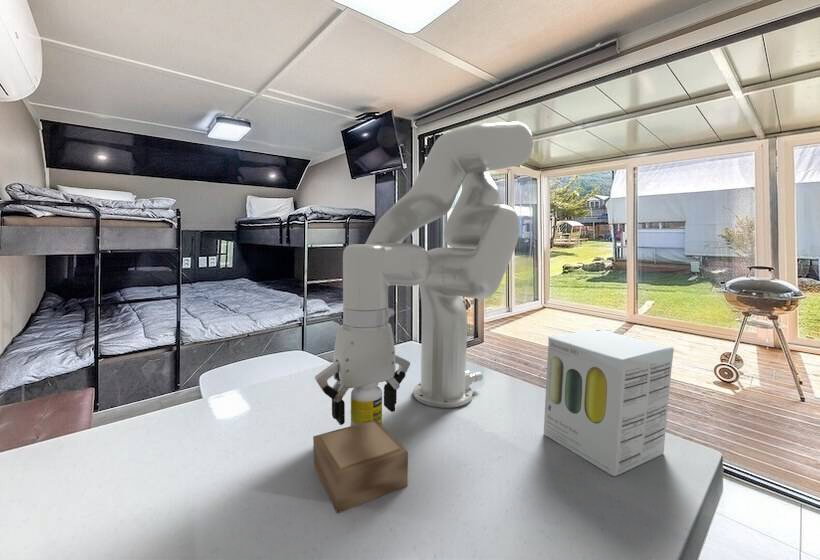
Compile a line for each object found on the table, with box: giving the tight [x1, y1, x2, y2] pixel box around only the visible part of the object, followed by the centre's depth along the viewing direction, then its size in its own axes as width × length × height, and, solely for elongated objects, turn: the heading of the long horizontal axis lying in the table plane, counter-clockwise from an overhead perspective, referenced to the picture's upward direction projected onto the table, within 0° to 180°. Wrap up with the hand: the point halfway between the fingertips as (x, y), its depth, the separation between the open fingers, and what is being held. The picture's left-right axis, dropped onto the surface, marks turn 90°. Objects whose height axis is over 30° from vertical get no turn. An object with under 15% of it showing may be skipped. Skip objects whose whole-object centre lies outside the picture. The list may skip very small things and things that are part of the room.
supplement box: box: [543, 328, 675, 477], centre depth 59 cm, size 13×13×18 cm
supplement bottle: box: [350, 383, 383, 426], centre depth 63 cm, size 5×5×10 cm
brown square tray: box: [312, 419, 409, 514], centre depth 51 cm, size 10×10×5 cm
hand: (365, 414), depth 63 cm, fingers open, 9 cm apart
